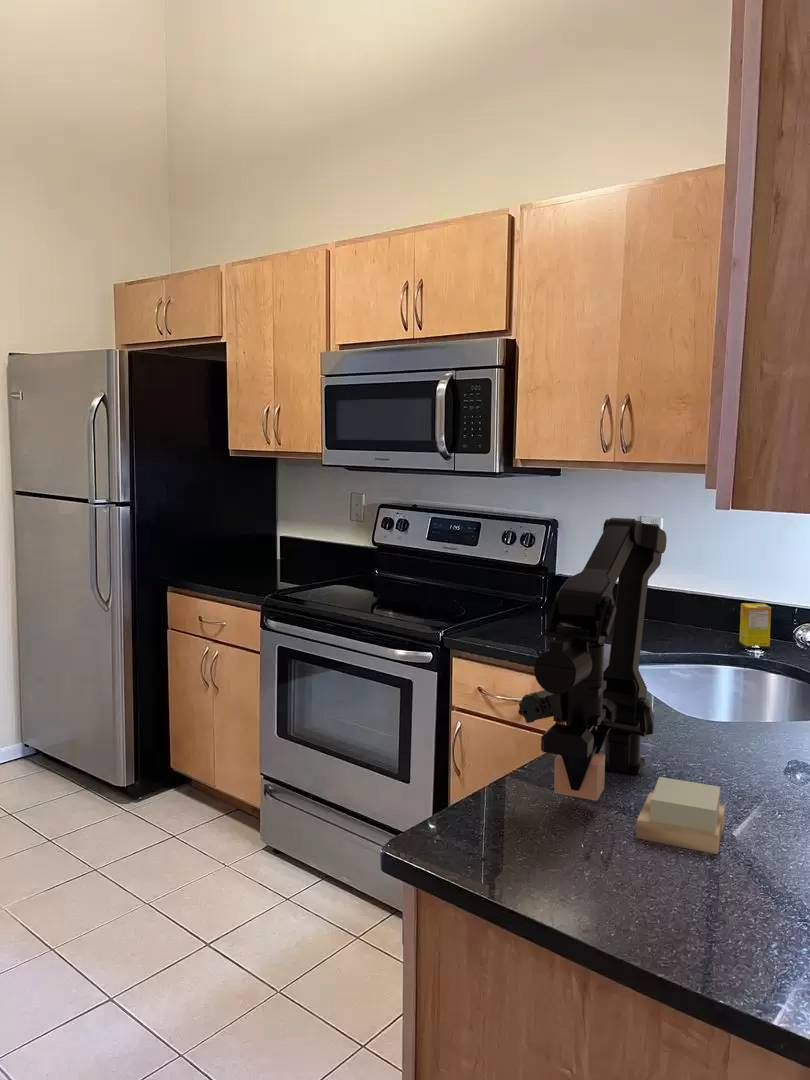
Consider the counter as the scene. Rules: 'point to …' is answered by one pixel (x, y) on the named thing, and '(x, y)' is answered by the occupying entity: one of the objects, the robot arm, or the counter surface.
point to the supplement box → (755, 625)
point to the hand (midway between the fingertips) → (579, 783)
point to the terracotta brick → (590, 784)
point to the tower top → (685, 804)
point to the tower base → (679, 832)
